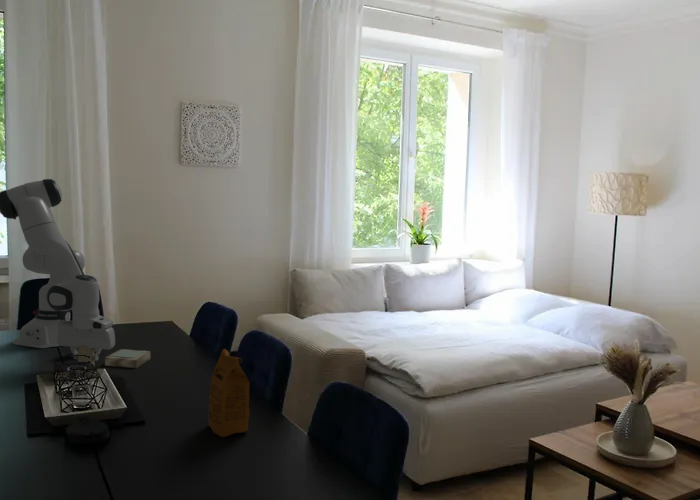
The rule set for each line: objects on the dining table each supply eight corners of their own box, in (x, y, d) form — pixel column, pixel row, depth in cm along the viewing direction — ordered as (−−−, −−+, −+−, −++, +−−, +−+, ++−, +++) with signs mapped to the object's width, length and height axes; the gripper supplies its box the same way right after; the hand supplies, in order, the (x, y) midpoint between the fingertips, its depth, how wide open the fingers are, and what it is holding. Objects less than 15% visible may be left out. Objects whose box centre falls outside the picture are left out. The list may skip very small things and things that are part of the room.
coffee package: (236, 419, 192) (238, 345, 189) (252, 434, 181) (254, 356, 178) (203, 424, 187) (205, 349, 184) (217, 440, 176) (219, 360, 174)
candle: (88, 372, 229) (88, 344, 228) (74, 370, 230) (74, 343, 229) (97, 367, 235) (97, 340, 234) (83, 366, 236) (83, 339, 235)
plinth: (105, 365, 238) (105, 356, 238) (120, 356, 250) (120, 348, 250) (136, 367, 237) (136, 359, 236) (150, 359, 249) (150, 350, 248)
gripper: (53, 321, 229) (53, 359, 230) (108, 325, 226) (108, 363, 228) (63, 317, 235) (63, 355, 236) (117, 321, 233) (117, 359, 234)
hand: (86, 359), depth 232 cm, fingers closed on candle, 5 cm apart
